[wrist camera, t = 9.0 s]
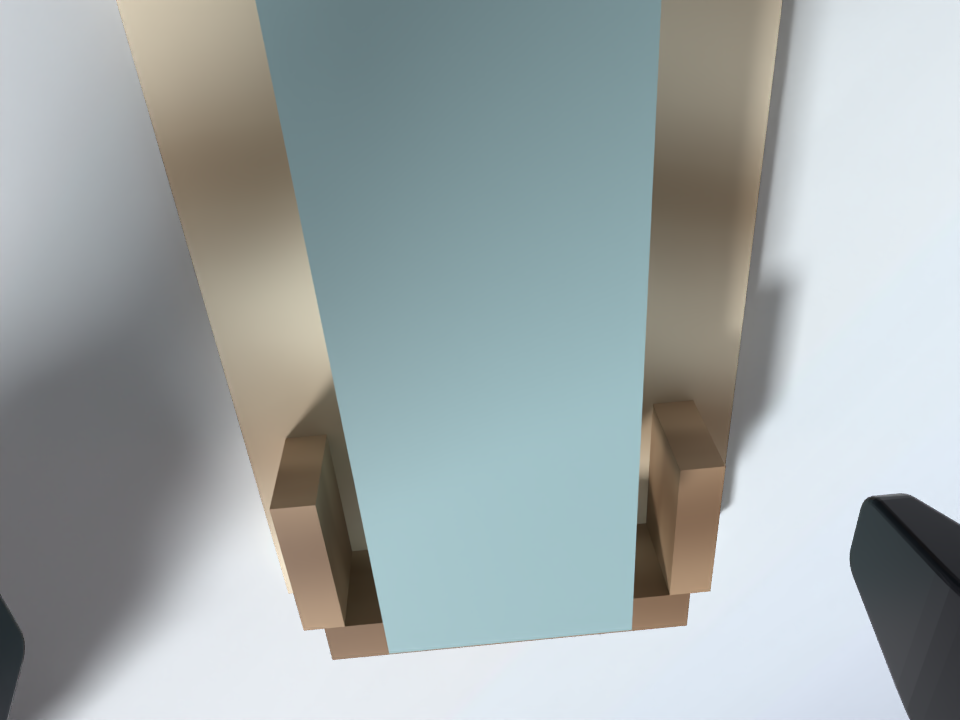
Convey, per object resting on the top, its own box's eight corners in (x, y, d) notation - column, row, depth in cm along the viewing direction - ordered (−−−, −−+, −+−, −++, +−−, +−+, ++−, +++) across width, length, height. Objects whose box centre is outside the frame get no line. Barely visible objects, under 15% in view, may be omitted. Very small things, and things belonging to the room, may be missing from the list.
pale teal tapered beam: (589, 471, 21) (631, 629, 17) (395, 489, 21) (389, 653, 16) (591, -431, 12) (688, -589, 7) (245, -405, 12) (143, -548, 7)
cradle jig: (704, 527, 24) (744, 624, 21) (293, 566, 23) (274, 670, 20) (835, -665, 11) (983, -847, 8) (-31, -598, 11) (-196, -760, 8)
